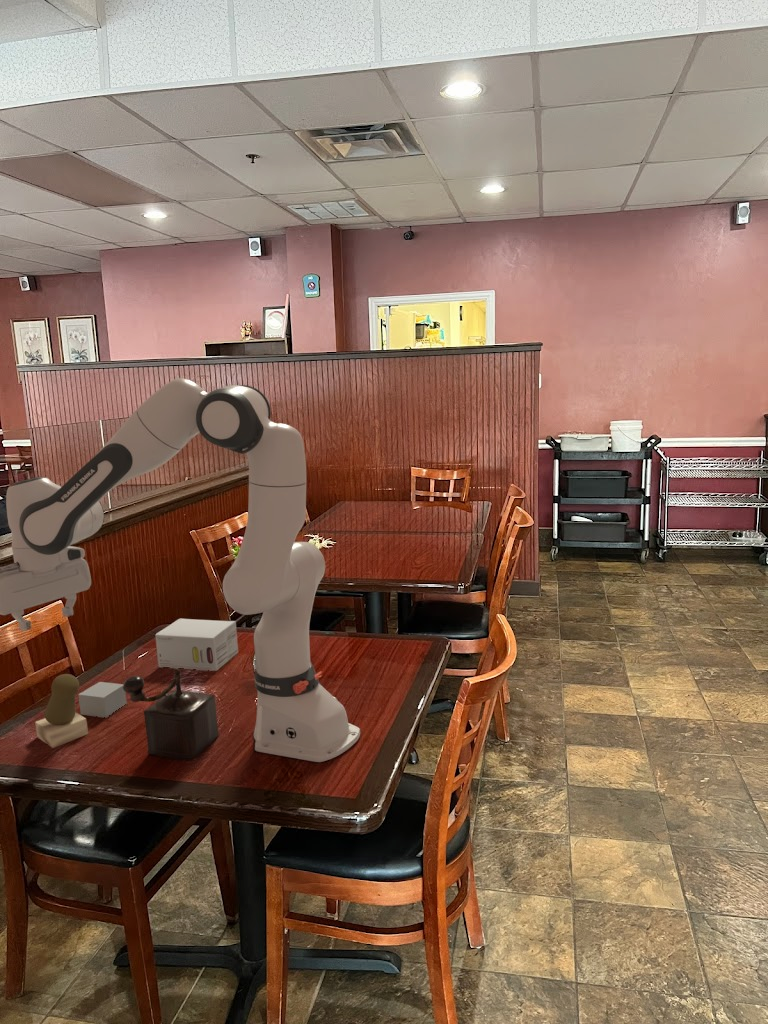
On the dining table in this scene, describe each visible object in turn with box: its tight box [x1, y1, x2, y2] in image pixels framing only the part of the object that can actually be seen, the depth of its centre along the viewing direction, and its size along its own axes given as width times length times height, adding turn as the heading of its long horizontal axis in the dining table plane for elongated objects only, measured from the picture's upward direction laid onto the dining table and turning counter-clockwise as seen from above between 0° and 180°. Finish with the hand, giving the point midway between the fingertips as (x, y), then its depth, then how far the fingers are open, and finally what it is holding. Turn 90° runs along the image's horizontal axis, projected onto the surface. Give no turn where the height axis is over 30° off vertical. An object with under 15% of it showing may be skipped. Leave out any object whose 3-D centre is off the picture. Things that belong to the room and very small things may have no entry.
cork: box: [43, 673, 80, 726], centre depth 148 cm, size 6×6×11 cm
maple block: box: [35, 711, 89, 749], centre depth 152 cm, size 8×8×4 cm
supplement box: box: [155, 618, 239, 672], centre depth 190 cm, size 17×13×9 cm
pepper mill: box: [123, 668, 220, 761], centre depth 142 cm, size 16×11×18 cm
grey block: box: [77, 681, 128, 719], centre depth 164 cm, size 7×7×5 cm
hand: (47, 622), depth 148 cm, fingers open, 8 cm apart
